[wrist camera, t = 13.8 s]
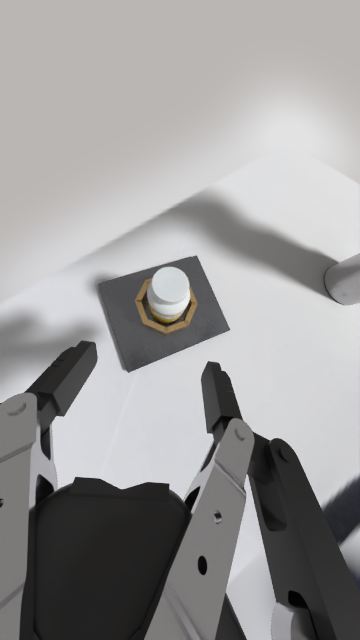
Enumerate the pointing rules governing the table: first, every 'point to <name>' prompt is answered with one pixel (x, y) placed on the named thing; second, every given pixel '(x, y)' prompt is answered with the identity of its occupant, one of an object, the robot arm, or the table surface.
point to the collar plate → (147, 333)
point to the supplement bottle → (168, 294)
